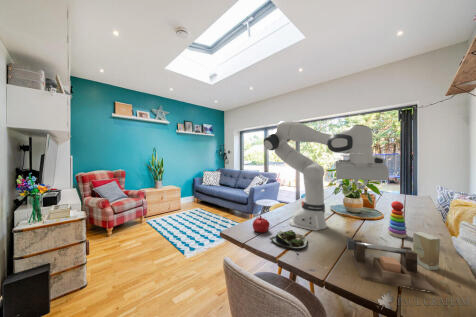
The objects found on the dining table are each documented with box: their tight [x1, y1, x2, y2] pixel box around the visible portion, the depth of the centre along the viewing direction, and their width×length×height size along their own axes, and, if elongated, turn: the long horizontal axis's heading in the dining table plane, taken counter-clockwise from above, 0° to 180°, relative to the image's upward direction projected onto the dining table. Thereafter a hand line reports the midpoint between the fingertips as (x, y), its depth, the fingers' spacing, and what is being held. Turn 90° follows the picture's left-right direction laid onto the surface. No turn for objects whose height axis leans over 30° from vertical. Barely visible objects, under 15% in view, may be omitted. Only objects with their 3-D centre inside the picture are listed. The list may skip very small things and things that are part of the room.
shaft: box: [345, 236, 413, 255], centre depth 71 cm, size 21×4×4 cm, turn 68°
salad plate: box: [269, 229, 308, 251], centre depth 93 cm, size 19×18×5 cm
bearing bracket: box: [351, 239, 437, 294], centre depth 66 cm, size 20×14×8 cm
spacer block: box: [379, 255, 401, 274], centre depth 64 cm, size 4×4×5 cm
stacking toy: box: [387, 200, 408, 239], centre depth 96 cm, size 8×8×19 cm
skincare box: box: [412, 231, 441, 271], centre depth 70 cm, size 6×4×12 cm
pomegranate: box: [252, 214, 271, 234], centre depth 104 cm, size 10×10×9 cm
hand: (360, 189), depth 81 cm, fingers closed
